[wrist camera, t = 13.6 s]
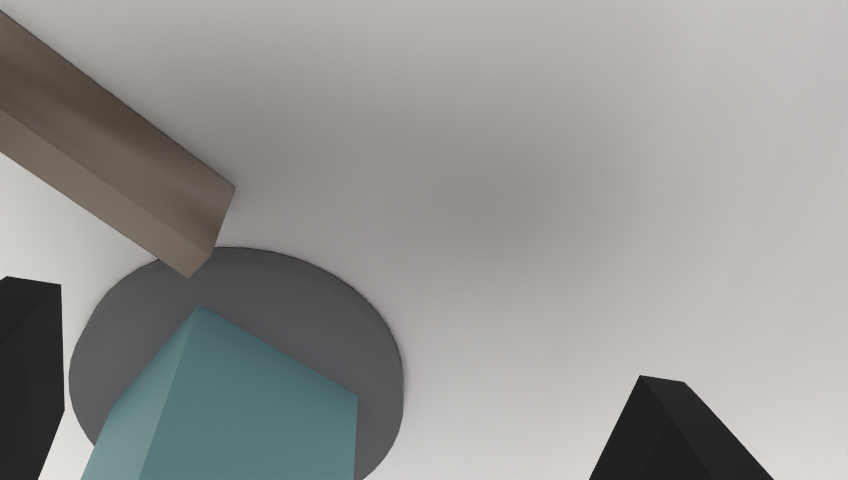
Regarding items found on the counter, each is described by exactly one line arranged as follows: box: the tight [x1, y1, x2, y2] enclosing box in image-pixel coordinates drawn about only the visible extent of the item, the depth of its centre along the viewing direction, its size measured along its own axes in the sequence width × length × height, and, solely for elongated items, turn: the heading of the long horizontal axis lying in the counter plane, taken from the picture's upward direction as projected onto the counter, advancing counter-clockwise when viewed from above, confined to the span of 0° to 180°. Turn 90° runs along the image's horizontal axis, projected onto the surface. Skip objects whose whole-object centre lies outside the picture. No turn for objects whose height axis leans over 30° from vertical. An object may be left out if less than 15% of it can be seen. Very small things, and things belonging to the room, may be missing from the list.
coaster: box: [69, 248, 403, 480], centre depth 22 cm, size 9×9×1 cm
